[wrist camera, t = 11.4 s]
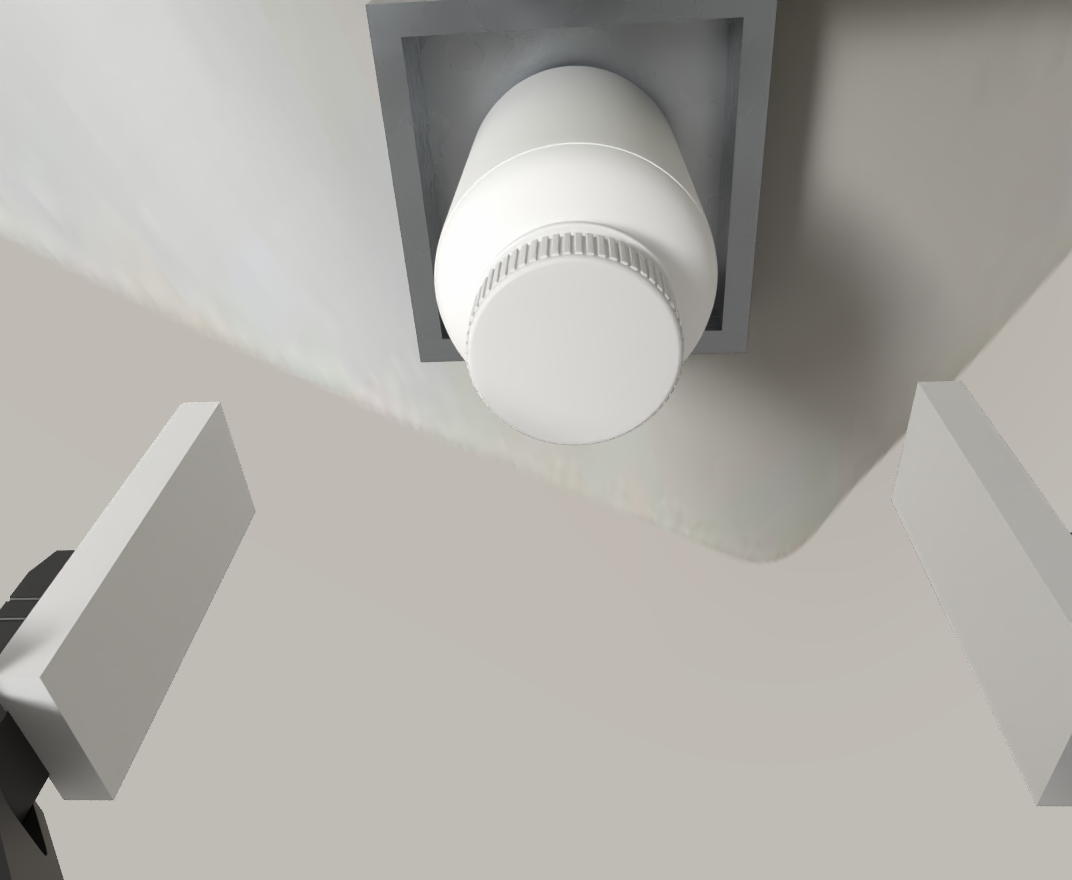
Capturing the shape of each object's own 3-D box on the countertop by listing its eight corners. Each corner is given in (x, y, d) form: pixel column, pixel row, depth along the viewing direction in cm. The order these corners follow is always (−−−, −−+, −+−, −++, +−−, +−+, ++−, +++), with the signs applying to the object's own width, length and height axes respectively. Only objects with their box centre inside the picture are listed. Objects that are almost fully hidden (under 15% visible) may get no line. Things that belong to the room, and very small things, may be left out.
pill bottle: (628, 295, 35) (653, 525, 23) (446, 227, 34) (367, 430, 22) (717, 110, 31) (806, 268, 19) (513, 24, 30) (462, 132, 17)
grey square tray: (433, 323, 37) (420, 362, 34) (386, -9, 30) (365, 4, 27) (733, 314, 36) (745, 352, 33) (760, -32, 29) (779, -21, 26)
